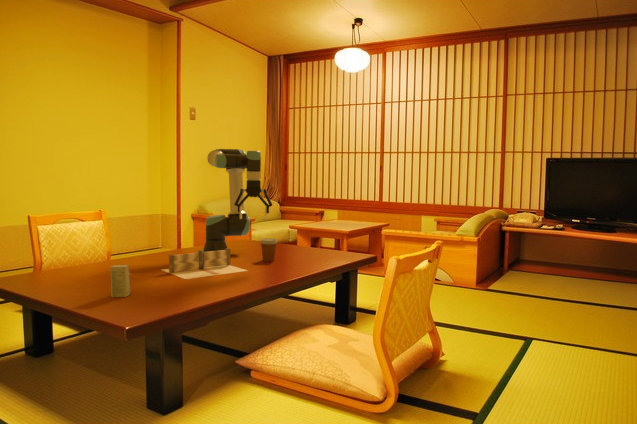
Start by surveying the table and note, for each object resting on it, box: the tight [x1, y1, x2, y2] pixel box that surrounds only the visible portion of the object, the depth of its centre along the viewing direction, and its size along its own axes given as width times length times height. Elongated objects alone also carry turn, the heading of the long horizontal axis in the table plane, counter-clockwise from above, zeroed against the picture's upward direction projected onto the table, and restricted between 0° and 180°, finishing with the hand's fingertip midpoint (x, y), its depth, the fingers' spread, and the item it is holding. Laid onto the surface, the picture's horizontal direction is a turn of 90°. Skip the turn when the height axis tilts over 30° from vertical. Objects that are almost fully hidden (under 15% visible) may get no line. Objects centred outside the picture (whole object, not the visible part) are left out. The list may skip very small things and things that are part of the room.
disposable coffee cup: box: [260, 238, 278, 262], centre depth 284 cm, size 10×10×12 cm
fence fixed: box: [168, 249, 203, 274], centre depth 250 cm, size 18×2×9 cm, turn 130°
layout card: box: [161, 264, 249, 280], centre depth 252 cm, size 28×34×1 cm
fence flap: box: [203, 247, 231, 268], centre depth 260 cm, size 15×2×9 cm, turn 130°
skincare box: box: [109, 264, 131, 298], centre depth 200 cm, size 6×4×12 cm
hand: (253, 219), depth 270 cm, fingers open, 13 cm apart
